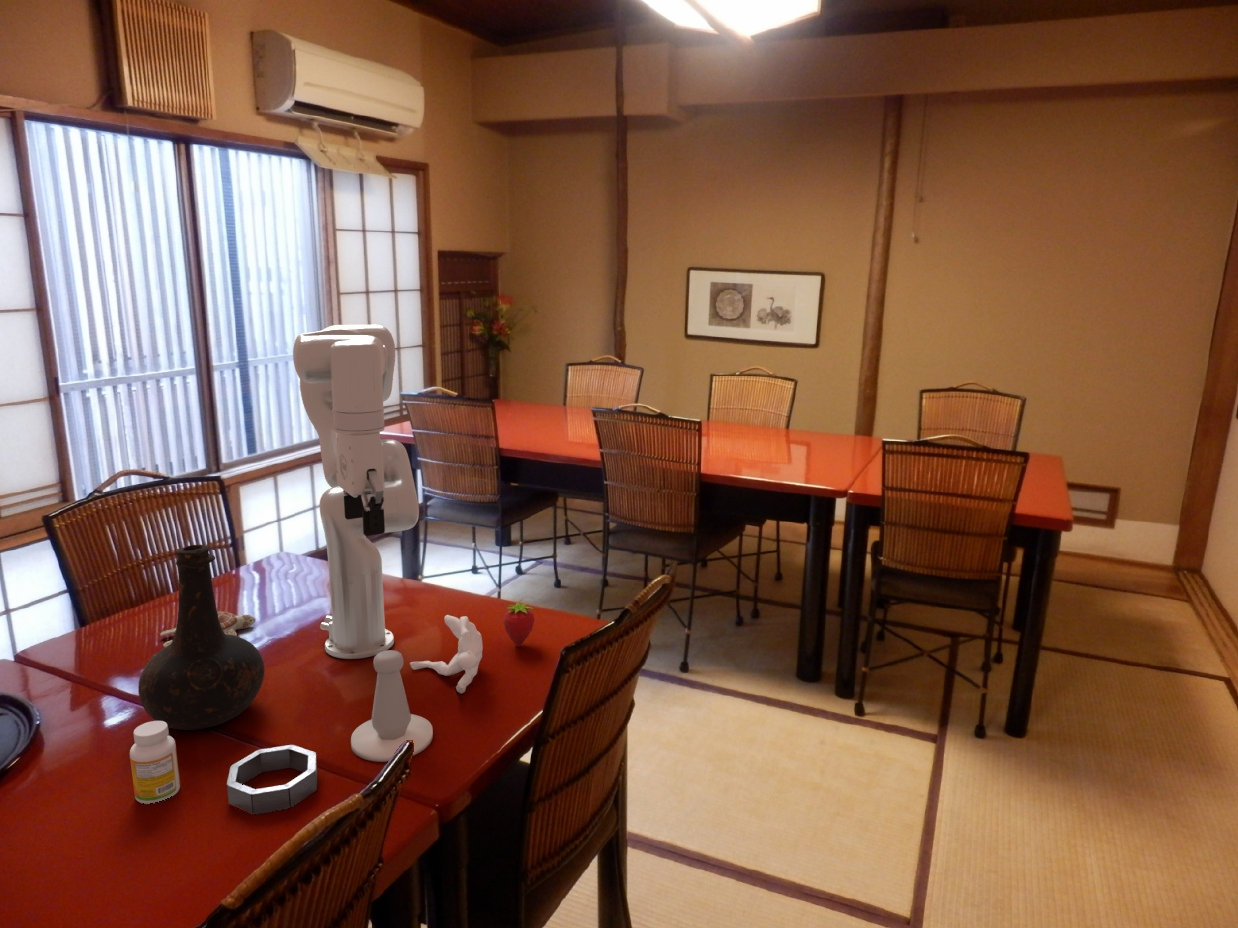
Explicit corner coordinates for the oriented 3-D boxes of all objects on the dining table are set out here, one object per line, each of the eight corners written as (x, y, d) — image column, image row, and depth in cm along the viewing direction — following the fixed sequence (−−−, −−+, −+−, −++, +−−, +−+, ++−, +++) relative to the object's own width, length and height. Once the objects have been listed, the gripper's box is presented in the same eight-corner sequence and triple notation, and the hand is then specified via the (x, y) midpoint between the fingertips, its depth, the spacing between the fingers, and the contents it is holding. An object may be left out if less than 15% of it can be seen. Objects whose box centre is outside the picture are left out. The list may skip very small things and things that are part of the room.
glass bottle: (141, 757, 121) (119, 575, 115) (145, 702, 136) (126, 539, 130) (272, 728, 129) (258, 557, 123) (262, 680, 144) (249, 526, 138)
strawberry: (535, 637, 163) (534, 589, 161) (534, 654, 156) (533, 604, 154) (505, 638, 163) (504, 590, 160) (502, 654, 155) (501, 604, 153)
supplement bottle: (146, 781, 115) (139, 718, 113) (187, 780, 115) (180, 716, 113) (127, 805, 109) (119, 739, 107) (169, 804, 110) (162, 738, 108)
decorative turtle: (265, 644, 159) (263, 620, 158) (167, 665, 150) (164, 639, 149) (247, 613, 174) (245, 590, 173) (157, 630, 165) (154, 606, 164)
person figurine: (408, 607, 149) (465, 619, 137) (468, 604, 158) (526, 616, 145) (404, 680, 149) (460, 700, 136) (464, 673, 157) (522, 691, 145)
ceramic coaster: (333, 748, 123) (333, 742, 123) (388, 712, 134) (388, 706, 134) (396, 769, 118) (396, 763, 118) (448, 730, 129) (448, 724, 129)
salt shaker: (419, 732, 126) (416, 653, 124) (386, 747, 122) (382, 666, 119) (397, 719, 130) (393, 642, 127) (364, 733, 126) (360, 654, 123)
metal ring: (212, 798, 111) (210, 778, 111) (277, 757, 121) (276, 738, 120) (270, 821, 107) (269, 801, 106) (334, 777, 116) (332, 758, 116)
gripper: (319, 414, 134) (325, 515, 138) (351, 432, 120) (357, 545, 124) (365, 410, 138) (370, 509, 142) (401, 428, 124) (406, 537, 128)
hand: (364, 525), depth 133 cm, fingers open, 9 cm apart
